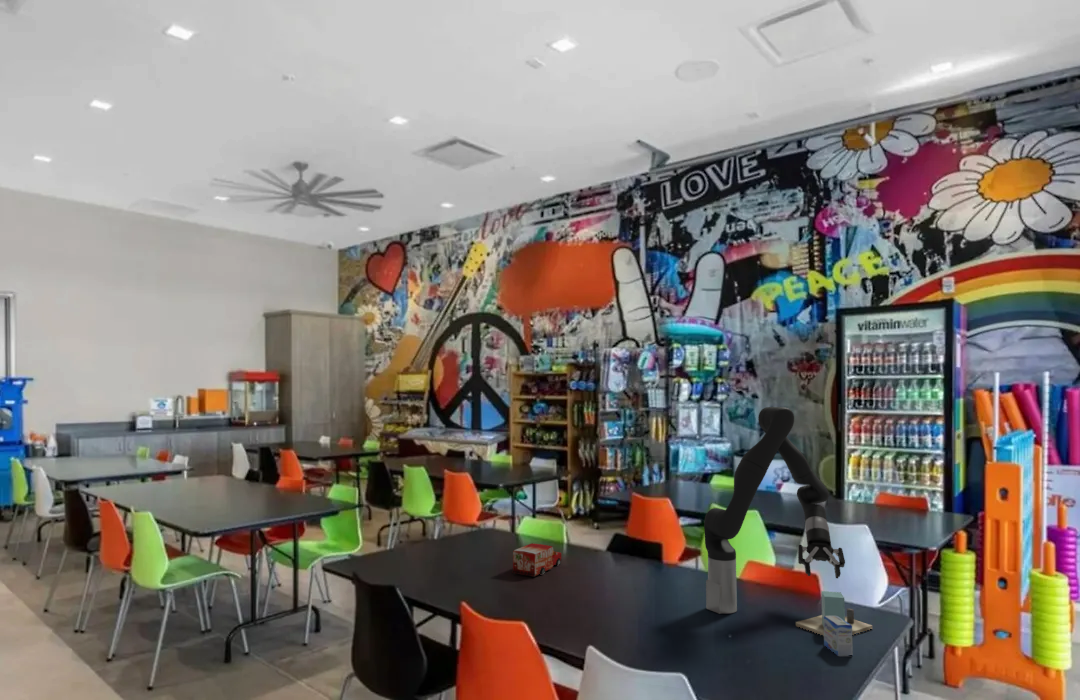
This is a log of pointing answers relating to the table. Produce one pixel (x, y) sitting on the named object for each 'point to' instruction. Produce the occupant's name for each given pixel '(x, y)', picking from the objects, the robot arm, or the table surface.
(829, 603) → the grey-green tall block
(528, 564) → the ambulance
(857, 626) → the pin board
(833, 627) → the medicine box
